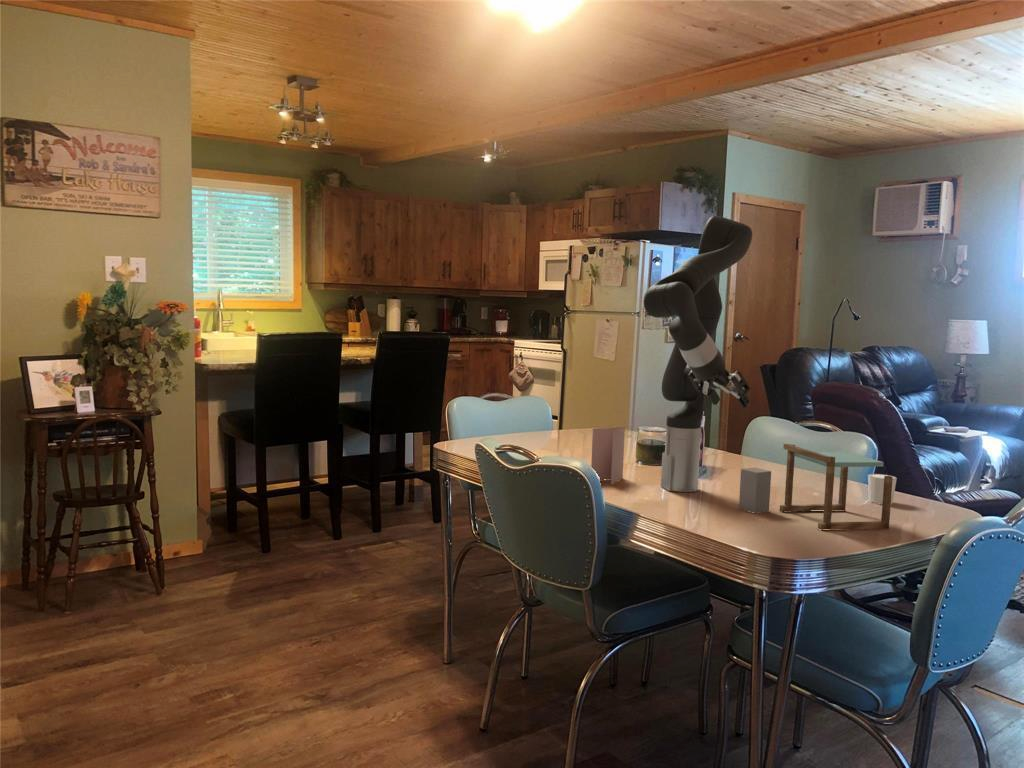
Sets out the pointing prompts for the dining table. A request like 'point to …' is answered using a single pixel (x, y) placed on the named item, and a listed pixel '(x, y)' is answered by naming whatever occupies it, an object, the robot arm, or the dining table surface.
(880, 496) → the white cup
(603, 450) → the greeting card
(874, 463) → the trapdoor
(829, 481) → the frame
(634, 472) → the dining table surface
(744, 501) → the granite block
